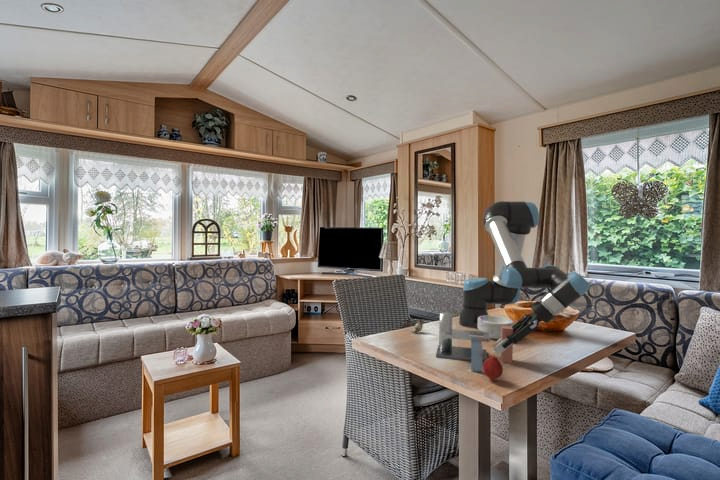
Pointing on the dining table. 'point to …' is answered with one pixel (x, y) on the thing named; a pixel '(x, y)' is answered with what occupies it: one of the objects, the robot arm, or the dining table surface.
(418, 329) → the greenish grey small figure
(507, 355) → the pink rectangular block
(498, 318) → the paper bowls
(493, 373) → the onion
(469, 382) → the dining table surface
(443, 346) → the grey stand
